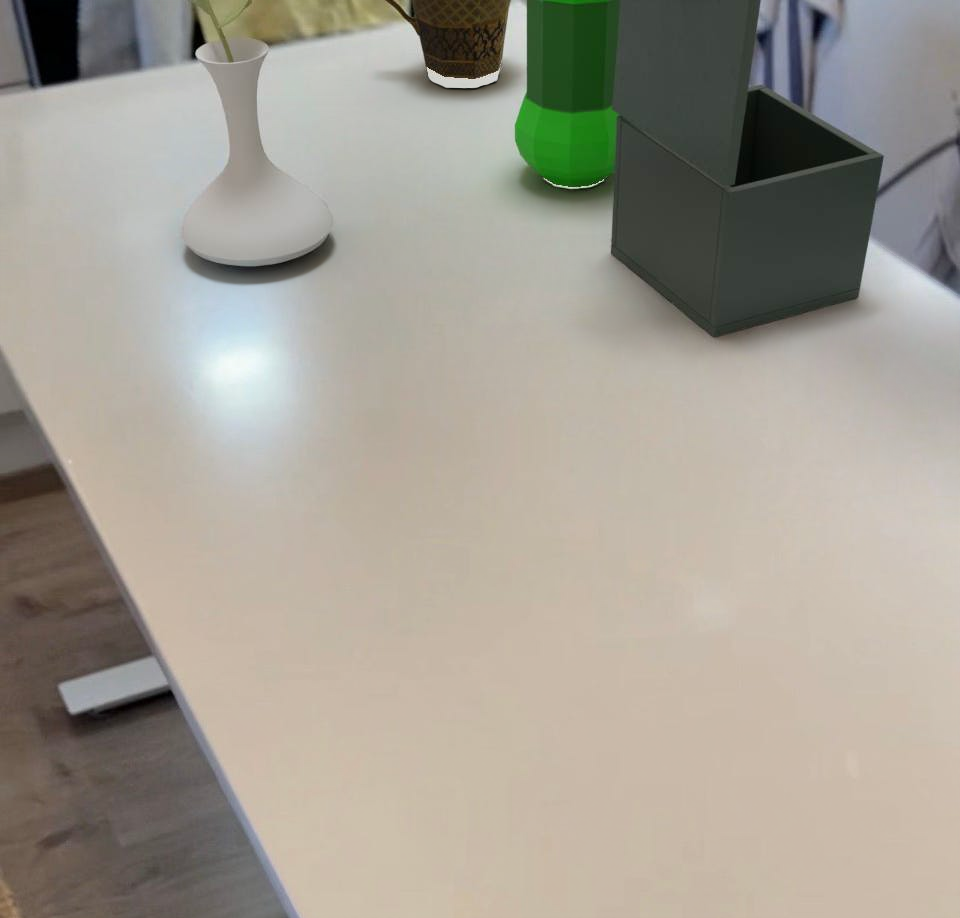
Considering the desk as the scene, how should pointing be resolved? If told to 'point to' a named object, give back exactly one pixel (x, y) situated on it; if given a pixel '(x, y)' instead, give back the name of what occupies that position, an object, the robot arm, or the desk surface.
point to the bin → (748, 218)
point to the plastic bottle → (570, 91)
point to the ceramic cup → (460, 35)
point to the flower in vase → (249, 173)
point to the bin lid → (687, 76)
